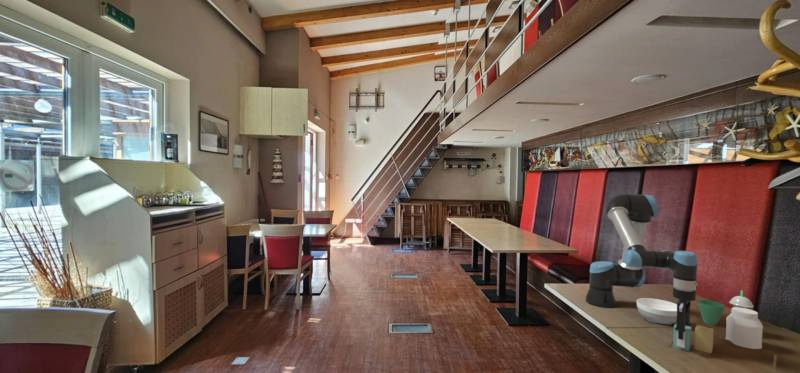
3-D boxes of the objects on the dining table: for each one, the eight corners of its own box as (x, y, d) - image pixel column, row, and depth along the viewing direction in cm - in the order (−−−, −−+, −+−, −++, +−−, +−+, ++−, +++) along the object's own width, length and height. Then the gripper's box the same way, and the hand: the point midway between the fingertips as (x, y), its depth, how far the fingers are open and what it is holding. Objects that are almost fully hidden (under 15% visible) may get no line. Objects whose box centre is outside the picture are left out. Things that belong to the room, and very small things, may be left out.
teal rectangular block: (672, 346, 151) (673, 326, 151) (675, 343, 155) (676, 323, 155) (688, 351, 148) (689, 330, 147) (690, 347, 151) (691, 326, 151)
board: (668, 349, 151) (668, 346, 151) (674, 340, 160) (674, 338, 160) (708, 360, 142) (708, 358, 142) (713, 351, 150) (713, 348, 150)
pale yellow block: (694, 348, 150) (695, 328, 150) (696, 345, 153) (697, 324, 153) (710, 353, 146) (711, 332, 146) (712, 349, 150) (713, 328, 149)
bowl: (684, 321, 182) (685, 304, 182) (680, 332, 168) (680, 314, 168) (639, 311, 195) (640, 295, 194) (632, 321, 181) (633, 304, 181)
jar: (766, 352, 150) (767, 316, 149) (738, 349, 152) (739, 314, 152) (748, 340, 161) (749, 307, 161) (722, 337, 163) (723, 304, 163)
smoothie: (747, 338, 163) (749, 294, 163) (724, 331, 171) (726, 289, 170) (755, 334, 167) (757, 291, 167) (732, 328, 175) (734, 286, 174)
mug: (726, 328, 174) (727, 308, 174) (700, 324, 178) (701, 304, 178) (716, 318, 187) (717, 299, 187) (692, 314, 191) (693, 296, 191)
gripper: (691, 296, 141) (689, 354, 142) (699, 286, 154) (697, 340, 155) (668, 291, 147) (666, 347, 147) (677, 282, 160) (676, 334, 161)
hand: (682, 343), depth 151 cm, fingers open, 6 cm apart
